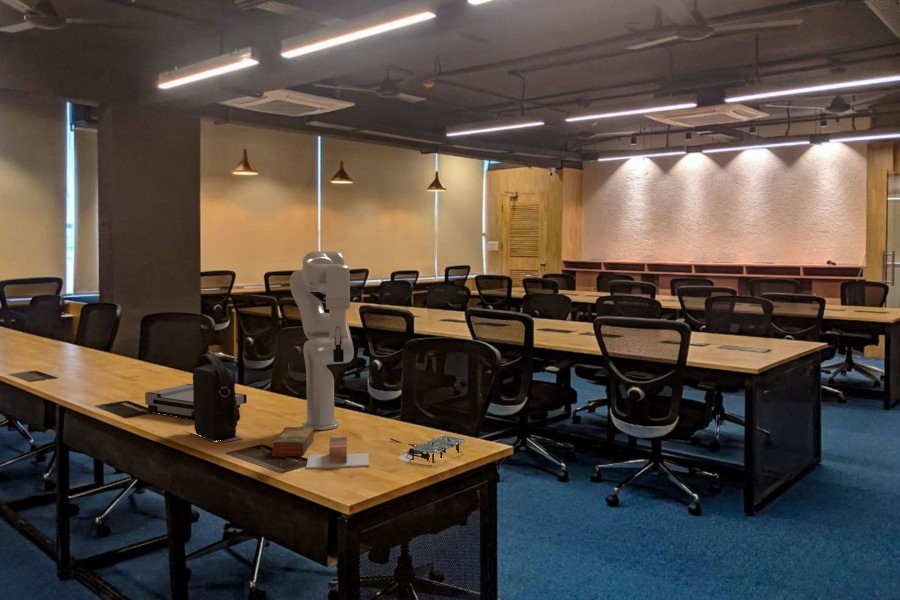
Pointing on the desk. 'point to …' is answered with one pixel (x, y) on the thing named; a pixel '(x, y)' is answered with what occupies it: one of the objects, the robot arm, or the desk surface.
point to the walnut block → (338, 450)
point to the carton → (293, 441)
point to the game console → (178, 401)
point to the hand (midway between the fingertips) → (338, 361)
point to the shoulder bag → (214, 400)
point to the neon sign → (431, 448)
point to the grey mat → (352, 461)
